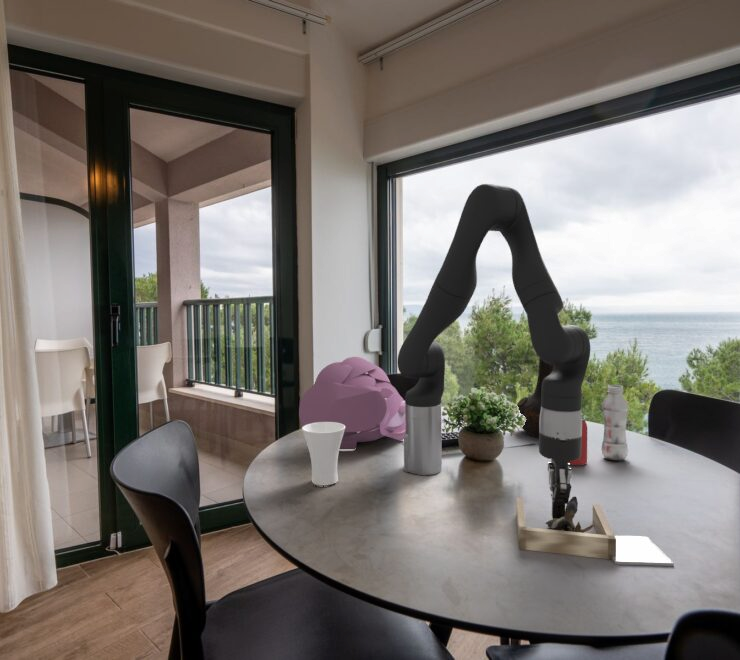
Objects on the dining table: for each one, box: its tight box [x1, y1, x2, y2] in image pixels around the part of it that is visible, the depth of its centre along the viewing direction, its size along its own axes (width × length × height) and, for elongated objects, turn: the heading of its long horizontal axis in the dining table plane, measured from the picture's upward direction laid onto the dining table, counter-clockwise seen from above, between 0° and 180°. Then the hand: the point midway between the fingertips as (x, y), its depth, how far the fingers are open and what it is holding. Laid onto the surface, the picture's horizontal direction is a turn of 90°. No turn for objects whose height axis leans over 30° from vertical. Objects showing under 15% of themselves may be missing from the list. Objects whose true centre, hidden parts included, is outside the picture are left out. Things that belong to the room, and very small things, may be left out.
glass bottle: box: [516, 354, 554, 438], centre depth 156 cm, size 18×18×28 cm
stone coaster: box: [611, 535, 675, 567], centre depth 84 cm, size 9×9×1 cm
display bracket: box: [515, 497, 616, 560], centre depth 90 cm, size 15×14×4 cm
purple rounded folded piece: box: [298, 356, 406, 449], centre depth 151 cm, size 35×24×28 cm
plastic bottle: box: [601, 384, 629, 462], centre depth 131 cm, size 6×7×20 cm
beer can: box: [568, 416, 588, 467], centre depth 129 cm, size 7×7×12 cm
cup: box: [301, 422, 345, 485], centre depth 118 cm, size 10×10×14 cm
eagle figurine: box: [545, 495, 594, 533], centre depth 89 cm, size 8×7×9 cm
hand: (558, 519), depth 93 cm, fingers closed
